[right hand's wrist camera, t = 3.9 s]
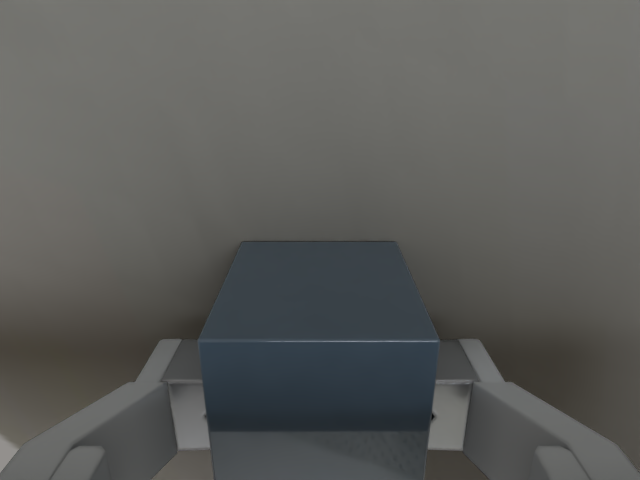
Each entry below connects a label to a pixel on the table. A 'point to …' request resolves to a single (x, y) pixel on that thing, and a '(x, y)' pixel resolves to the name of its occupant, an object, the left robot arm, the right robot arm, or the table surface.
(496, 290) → the table surface
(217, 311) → the block
